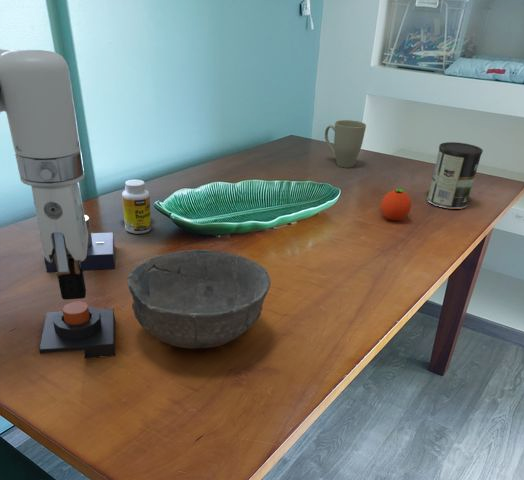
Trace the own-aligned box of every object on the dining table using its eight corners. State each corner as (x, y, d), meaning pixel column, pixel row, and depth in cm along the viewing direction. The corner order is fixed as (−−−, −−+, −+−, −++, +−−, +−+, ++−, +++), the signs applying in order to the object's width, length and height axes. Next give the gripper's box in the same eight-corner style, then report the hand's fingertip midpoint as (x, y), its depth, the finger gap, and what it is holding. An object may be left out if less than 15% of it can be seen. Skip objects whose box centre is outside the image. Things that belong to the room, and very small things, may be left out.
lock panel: (46, 272, 97) (43, 256, 95) (51, 248, 105) (49, 233, 103) (114, 268, 100) (113, 253, 98) (114, 246, 108) (113, 231, 106)
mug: (355, 160, 167) (362, 120, 160) (362, 170, 159) (369, 128, 152) (321, 159, 166) (326, 118, 159) (326, 169, 158) (331, 126, 151)
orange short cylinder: (63, 327, 77) (61, 314, 75) (65, 314, 79) (63, 302, 78) (89, 325, 77) (87, 313, 76) (90, 312, 80) (88, 300, 79)
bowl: (265, 302, 92) (268, 249, 87) (268, 376, 76) (273, 316, 70) (144, 298, 91) (139, 244, 86) (120, 372, 75) (113, 311, 69)
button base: (42, 362, 75) (36, 338, 73) (48, 324, 83) (44, 302, 81) (115, 356, 78) (112, 333, 75) (114, 319, 85) (112, 298, 83)
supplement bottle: (136, 237, 112) (132, 188, 106) (120, 229, 115) (114, 181, 109) (157, 230, 115) (154, 182, 109) (140, 222, 118) (137, 176, 112)
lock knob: (92, 248, 99) (88, 220, 96) (67, 249, 98) (62, 222, 95) (92, 238, 103) (88, 211, 100) (68, 239, 102) (63, 212, 99)
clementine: (383, 210, 132) (389, 182, 128) (411, 216, 130) (418, 187, 126) (375, 221, 126) (380, 191, 122) (404, 227, 124) (410, 197, 120)
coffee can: (464, 198, 143) (479, 144, 135) (469, 212, 135) (486, 154, 126) (425, 194, 144) (437, 140, 136) (428, 207, 136) (441, 150, 128)
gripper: (79, 185, 60) (100, 322, 71) (85, 148, 72) (102, 270, 83) (8, 186, 59) (40, 326, 69) (26, 149, 71) (51, 273, 81)
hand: (74, 296), depth 76 cm, fingers closed
